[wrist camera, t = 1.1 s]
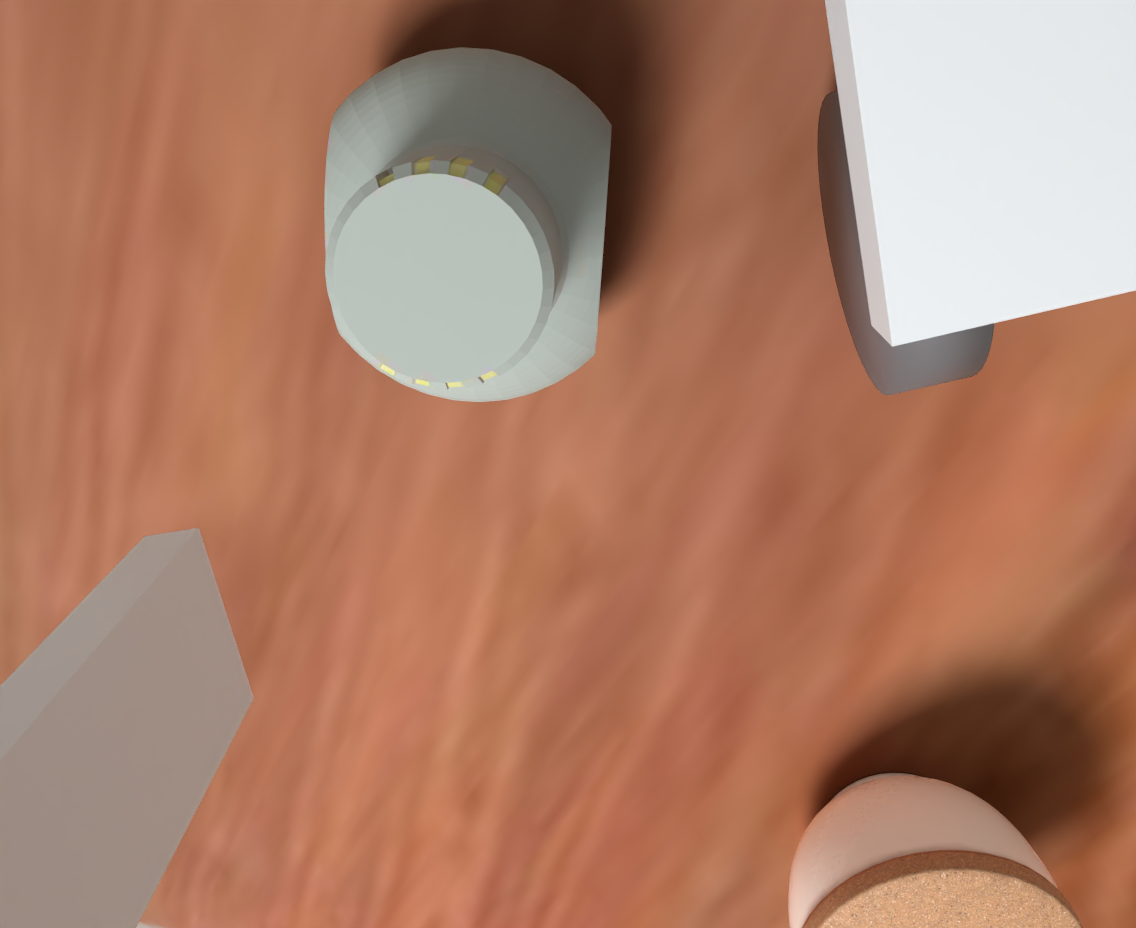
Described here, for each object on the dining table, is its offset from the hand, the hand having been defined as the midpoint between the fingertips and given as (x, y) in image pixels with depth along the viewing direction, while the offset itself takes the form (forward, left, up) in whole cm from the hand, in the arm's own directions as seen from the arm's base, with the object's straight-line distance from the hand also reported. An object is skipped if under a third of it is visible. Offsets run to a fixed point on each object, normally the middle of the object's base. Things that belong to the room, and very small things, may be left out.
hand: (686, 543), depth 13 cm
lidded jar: (-5, +28, -22) cm, 36 cm away
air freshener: (+5, -2, -22) cm, 23 cm away
